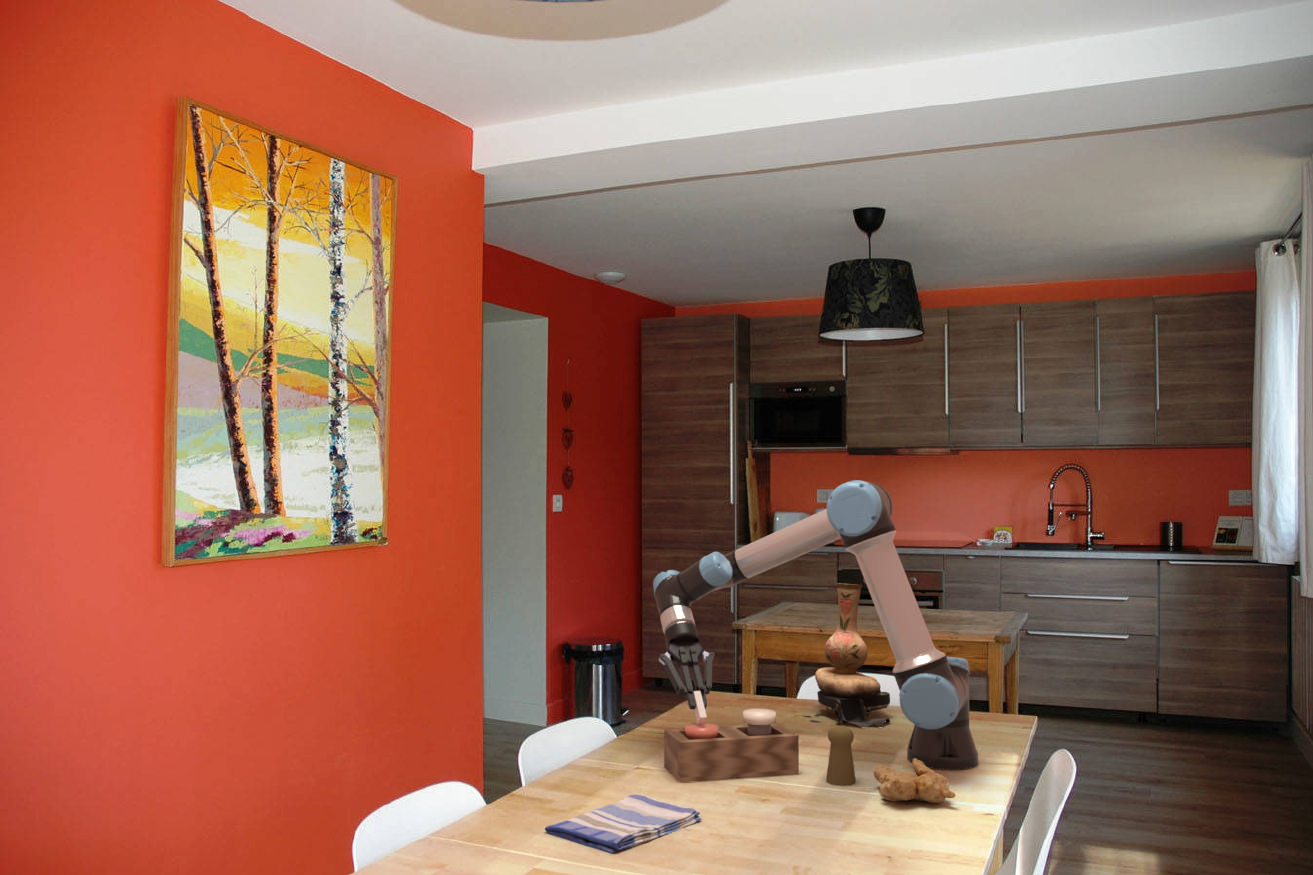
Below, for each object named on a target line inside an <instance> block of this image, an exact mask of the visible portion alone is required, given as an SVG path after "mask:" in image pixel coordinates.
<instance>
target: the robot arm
mask: <svg viewBox="0 0 1313 875" xmlns="http://www.w3.org/2000/svg"><path fill="white" fill-rule="evenodd" d="M893 504H894V503H893V500H892V497H891V495H890V493H889V492H888V491H887V490H886V488H884V487H883V486H882V485H881V484H878V483H877V482H874V481H866V480H859V479H858V480H856V479H854V480H850V481H847V482H845V483H841V484H840V485H839V486H837V487H836V488H835V489H834V490H833V491H832V492H831V493H830V495H829V497H828V500H827V503H826V508H825V509H823V510H821V511H819V512H816V513H814V514H812V515H810V516H807V517H805V518H804V519H801V520H799V521H796V522H793V523H792V524H790V525H788V526H786V527H783V528H781V529H779V530H777V531H775V532H773V533H771V534H768V535H766V536H764V537H762V538H759V539H757V540H755V541H753V542H751V543H749V544H746V545H744V546H741V547H740V548H737V549H735V550H733V551H730V552H728V553H726V554H723V553H721V552H719V551H713V552H711V553H710V554H708V555H705V556H703V557H702V558H701V559H700V560H698V561H697V562H695V563H694V564H691V565H690V566H689V567H687V568H686V569H685V570H683V571H681V572H680V571H678V570H675V569H669V570H667V571H661V572H660V573H658V574H657V575H656V576H655V577H654V578H653V582H652V586H653V596H654V599H655V603H656V606H657V610H658V614H659V617H660V624H661V627H662V628H661V629H662V632H663V636H664V641H665V645H666V646H665V647H666V652H665V653H660V654H659V655H660V656H659V657H658V660H657V661H658V662H657V663H658V664H659V665H660V666H661V667H662V668H663V669H664V671H665V672H666V675H667V677H668V679H669V681H670V682H671V684H672V686H673V688H674V689H673V690H675V692H676V694H677V696H684V700H686V701H687V703H688V704H687V705H688V707H689V709H690V710H693V712H694V717H695V720H696V723H697V725H700V724H704V723H706V720H707V718H708V717H707V711H706V709H707V706H708V699H707V697H706V696H707V695H709V694H710V692H711V690H712V687H713V661H714V658H715V656H716V655H715V654H716V653H715V652H714V651H710V652H708V651H706V650H704V647H703V646H702V645H701V642H700V638H699V634H698V630H697V626H696V622H695V618H694V614H693V611H692V606H691V605H692V604H693V603H695V602H697V601H699V600H700V599H702V598H704V597H705V596H706V595H708V594H710V593H713V592H714V591H719V590H723V589H725V588H726V589H729V588H733V587H735V586H737V585H739V584H740V583H741V582H744V581H746V580H747V579H748V580H749V579H751V578H752V577H755V576H757V575H759V574H762V573H764V572H766V571H768V570H771V569H773V568H777V566H778V567H779V566H780V565H782V564H785V563H787V562H789V561H792V560H794V559H796V558H798V557H800V556H803V555H805V554H807V553H811V552H813V551H815V550H817V549H819V548H821V547H824V546H826V545H829V544H831V543H833V542H835V541H838V540H839V539H840V540H841V541H842V542H841V543H842V544H843V547H844V550H845V551H847V552H848V553H851V554H853V555H854V556H855V558H856V561H857V563H858V567H859V569H860V571H861V574H862V576H863V578H864V582H865V584H866V587H867V589H868V592H869V594H870V597H871V600H872V602H873V604H874V607H875V609H876V610H875V611H876V613H877V615H878V617H879V620H880V624H881V625H882V628H883V630H884V633H885V635H886V638H887V640H888V643H889V646H890V648H891V651H892V654H893V657H894V659H895V664H894V667H893V669H892V673H893V676H894V678H895V681H896V684H897V688H898V690H899V695H898V696H899V705H900V708H901V711H902V713H903V714H904V716H905V718H906V719H907V720H908V721H909V722H911V723H912V724H913V725H914V726H913V729H912V733H911V736H910V739H909V742H908V745H907V749H906V752H907V753H906V756H907V758H906V759H907V761H909V762H910V763H911V764H913V759H914V758H915V759H916V758H917V760H920V761H923V763H924V765H926V767H928V768H929V769H937V770H948V771H949V770H950V771H951V770H953V771H956V770H957V769H959V770H968V769H973V768H975V767H977V766H978V765H979V754H978V750H977V747H976V744H975V740H974V738H973V734H972V730H971V727H970V674H971V671H970V665H969V661H968V660H967V659H966V658H964V657H963V658H962V657H954V656H946V653H945V652H943V651H940V650H939V649H937V648H936V646H935V645H934V643H933V640H932V637H931V635H930V632H929V630H928V627H927V625H926V622H925V619H924V616H923V614H922V612H921V609H920V607H919V603H918V602H917V599H916V597H915V594H914V591H913V589H912V586H911V584H910V582H909V579H908V576H907V574H906V571H905V569H904V567H903V563H902V562H901V559H900V556H899V553H898V551H897V548H896V546H895V544H894V538H895V536H896V534H897V530H896V526H895V525H894V522H893V519H892V515H893V509H894V507H893V506H894V505H893ZM701 658H702V661H703V663H704V667H703V668H704V669H703V670H704V672H703V677H704V678H703V677H702V674H701V669H700V666H699V662H700V660H701ZM673 663H674V664H675V665H676V666H677V670H676V667H675V666H674V664H673ZM690 673H691V675H690ZM691 677H692V680H693V681H692V680H691ZM692 682H693V683H692ZM693 686H694V687H693ZM694 689H695V690H694ZM955 769H956V770H955Z"/></svg>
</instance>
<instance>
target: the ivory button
mask: <svg viewBox="0 0 1313 875" xmlns="http://www.w3.org/2000/svg"><path fill="white" fill-rule="evenodd" d="M742 723H745V724H746V725H748V736H762V735H771V724H774V723H777V712H776V711H775V710H772V709H767V708H747V709H744V710H743V711H742Z"/></svg>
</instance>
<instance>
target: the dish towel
mask: <svg viewBox="0 0 1313 875" xmlns="http://www.w3.org/2000/svg"><path fill="white" fill-rule="evenodd" d="M700 814H701V812H700V811H699V810H697V809H696V808H691V807H687V806H682V805H678V804H675V803H671V802H669V801H661V800H658V799H655V798H652V797H651V796H647V795H645V794H638V793H634V794H630V795H628V796H626V797H625V798H622V799H621V800H619V801H616V802H614V803H611V804H607V805H605V806H602V807H600V808H596V809H594V810H592V811H589V812H585V813H581V814H579V815H576V816H573V817H572V818H570V819H567V820H563V821H559V822H557V823H554V824H553V823H552V824H550V825H547V826H545V827H544V830H545V832H546V833H548V834H549V835H553V836H556V837H558V838H562V839H565V840H567V841H570V842H573V843H576V844H579V845H582V846H585V847H588V848H589V847H590V848H593V849H596V850H599V851H602V852H605V853H608V854H611V855H613V854H615V853H618V852H620V851H621V852H622V851H625V850H627V849H630V848H632V847H636V846H640V845H643V844H645V843H648V842H649V841H652V840H654V839H656V838H659V836H660V837H662V836H666V835H670V834H673V833H675V832H677V831H679V829H680V830H681V828H682V829H684V828H686V827H688V826H691V825H694V824H696V823H698V822H700V821H702V820H703V819H702V817H701V816H699V815H700ZM672 832H673V833H672Z"/></svg>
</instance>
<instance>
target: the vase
mask: <svg viewBox="0 0 1313 875" xmlns="http://www.w3.org/2000/svg"><path fill="white" fill-rule="evenodd" d="M835 585H836V592H837V606H838V616H837V617H838V618H837V619H838V620H837V627H836V630H835V632H834V633H833V634H832V635H831V636H830V637H829V638H828V639H827V641H826V643H825V646H824V656H825V659H826V660H827V662H828V664H830V665H831V666H832V667H830V666H829V667H821V668H818V669H817V670H816V672H815V674H814V678H815V682H816V683H817V684H816V685H817V687H818V691H817V699H818V700H817V702H818V703H819V704H820V706H819V707H818V709H817V713H816V714H815V715H814V717H816V716H817V717H818V716H819V714H820V711H822V710H824V711H825V710H827V709H828V710H834V713H835V717H836V719H837V720H838V721H837V723H836V724H837V725H840V724H841V722H842V723H843V724H846V723H849V724H853V725H856V726H857V727H860V729H863V728H862V727H868V728H870V726H872V725H874V726H876V727H877V728H878V727H883V728H884V724H885V723H888V722H890V723H891V720H890V718H888V717H882V718H872V719H871V718H868V717H869V714H870V713H873V712H874V711H880V710H884V709H887V708H888V706H890V704H891V695H890V692H887V691H881V683H879V682H878V680H877V679H876V678H875V677H874V676H869V675H866V674H864V673H861V672H858V671H857V670H858V669H860V668H861V667H862V666H863V665H864V664H865V663H866V662H867V658H868V653H869V652H868V651H869V650H868V647H867V644H866V643H865V641H864V639H862V637H861V635H859V633H858V627H857V626H858V625H857V624H858V622H857V621H858V610H859V602H860V597H861V592H862V591H861V589H862V587H863V585H862V584H855V583H854V584H853V583H852V584H851V583H840V582H839V583H838V582H836V583H835ZM836 706H837V711H836V710H835V708H836ZM866 712H869V713H868V714H867V713H866ZM801 717H804V718H812V717H811V715H805V714H803V715H801ZM885 721H886V722H885ZM809 722H819V723H821V724H823V722H821V721H819V720H815V719H810V720H809Z"/></svg>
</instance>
